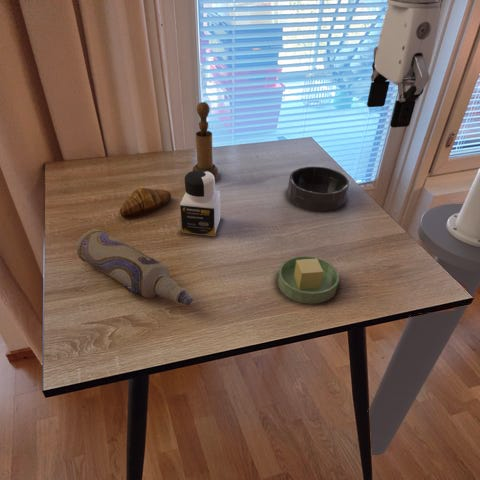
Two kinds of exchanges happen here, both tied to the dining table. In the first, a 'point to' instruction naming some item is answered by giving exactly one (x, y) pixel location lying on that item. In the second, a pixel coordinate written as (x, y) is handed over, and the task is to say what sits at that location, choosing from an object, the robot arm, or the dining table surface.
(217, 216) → the medicine bottle
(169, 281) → the decorative bottle
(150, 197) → the croissant
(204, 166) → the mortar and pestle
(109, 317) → the dining table surface
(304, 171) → the bowl
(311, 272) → the yellow cube
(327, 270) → the dish
